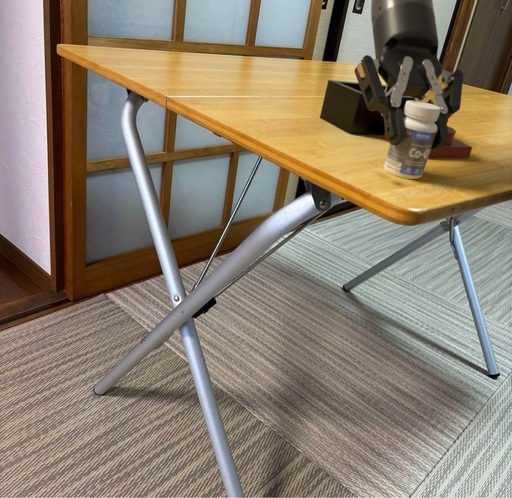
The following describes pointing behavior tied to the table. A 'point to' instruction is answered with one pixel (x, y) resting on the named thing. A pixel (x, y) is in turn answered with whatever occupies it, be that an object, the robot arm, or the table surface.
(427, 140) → the pill bottle
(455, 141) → the panel
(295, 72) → the table surface
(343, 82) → the black divided box
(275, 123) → the table surface
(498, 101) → the table surface
